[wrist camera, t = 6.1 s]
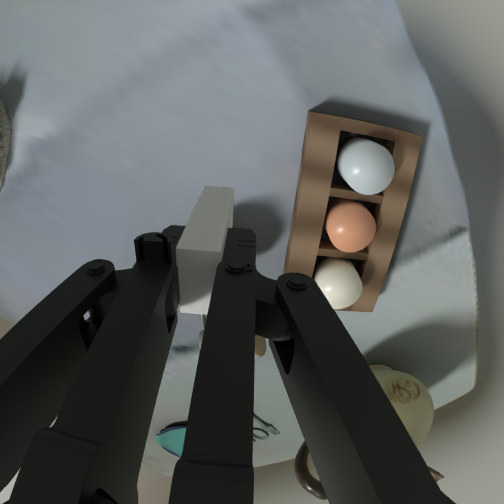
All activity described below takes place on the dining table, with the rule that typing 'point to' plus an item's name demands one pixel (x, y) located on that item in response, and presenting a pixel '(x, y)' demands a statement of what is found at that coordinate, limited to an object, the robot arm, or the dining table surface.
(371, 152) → the grey button
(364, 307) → the wooden compartment tray
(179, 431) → the cutlery set
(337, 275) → the cream button
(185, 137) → the dining table surface
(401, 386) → the pitcher
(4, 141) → the ceramic cottage
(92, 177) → the dining table surface
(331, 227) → the terracotta button
